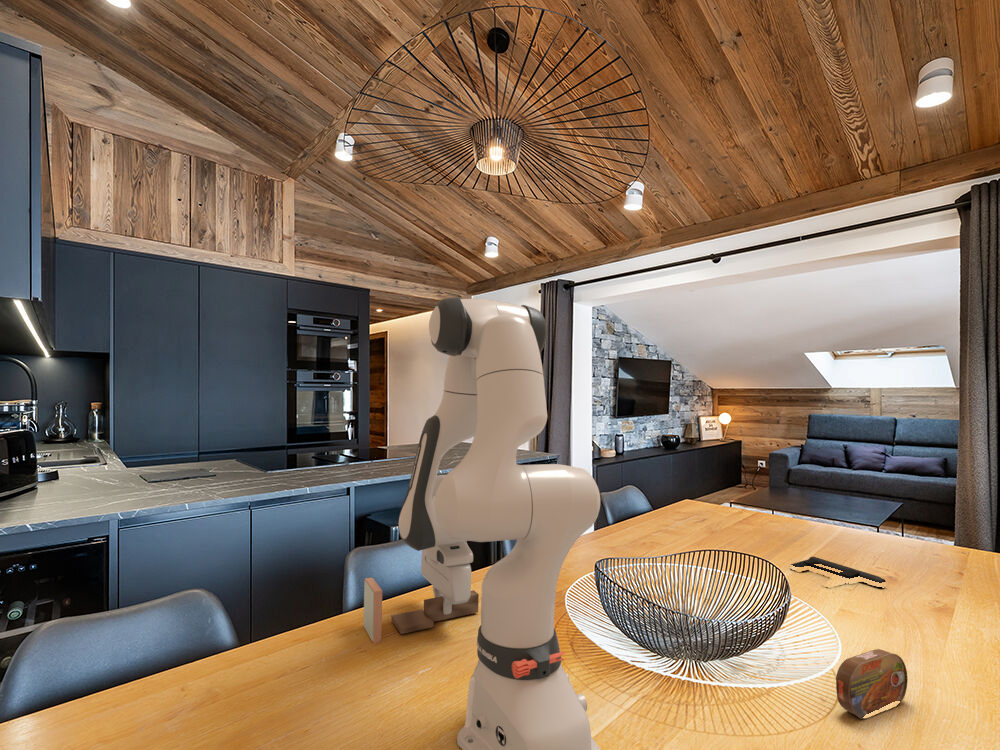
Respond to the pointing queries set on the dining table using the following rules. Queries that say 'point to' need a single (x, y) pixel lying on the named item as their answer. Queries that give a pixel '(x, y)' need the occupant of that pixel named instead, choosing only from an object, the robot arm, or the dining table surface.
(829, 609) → the dining table surface
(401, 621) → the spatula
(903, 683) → the tin
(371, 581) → the tile
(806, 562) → the door handle
